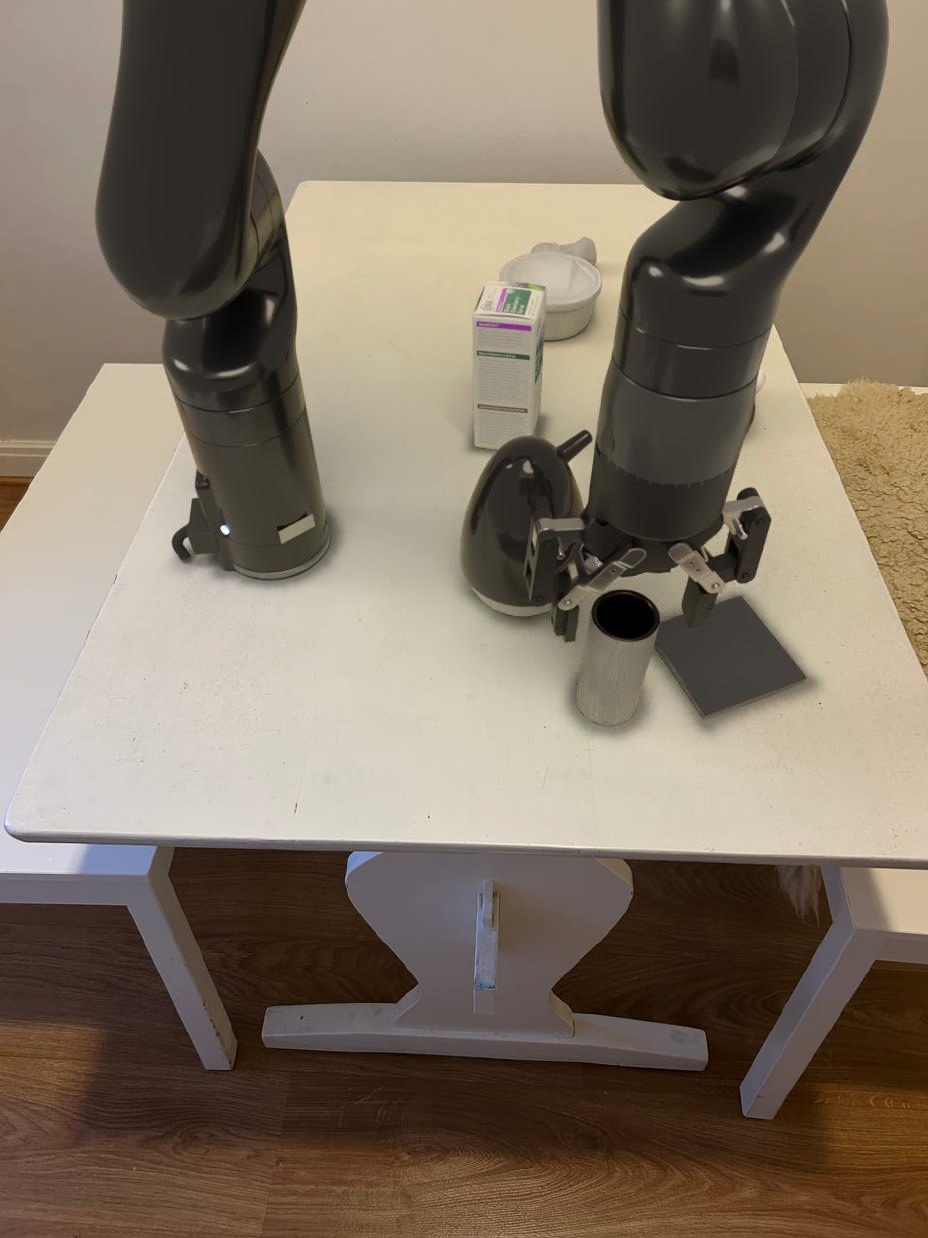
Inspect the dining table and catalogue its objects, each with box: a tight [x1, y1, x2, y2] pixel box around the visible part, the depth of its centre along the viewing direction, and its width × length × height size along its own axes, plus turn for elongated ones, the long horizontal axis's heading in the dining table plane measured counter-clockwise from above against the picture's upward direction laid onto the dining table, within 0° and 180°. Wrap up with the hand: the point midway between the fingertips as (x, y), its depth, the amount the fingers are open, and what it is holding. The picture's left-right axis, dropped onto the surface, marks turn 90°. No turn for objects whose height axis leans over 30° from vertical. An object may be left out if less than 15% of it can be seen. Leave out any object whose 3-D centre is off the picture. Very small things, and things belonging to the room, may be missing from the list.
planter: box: [576, 588, 661, 727], centre depth 59 cm, size 4×4×10 cm
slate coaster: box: [653, 594, 808, 720], centre depth 65 cm, size 9×9×1 cm
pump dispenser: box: [458, 429, 593, 617], centre depth 64 cm, size 10×10×15 cm
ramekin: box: [498, 252, 603, 341], centre depth 94 cm, size 11×11×5 cm
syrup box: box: [471, 280, 547, 451], centre depth 77 cm, size 6×6×14 cm
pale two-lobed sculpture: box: [529, 236, 598, 267], centre depth 101 cm, size 4×8×5 cm
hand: (628, 625), depth 56 cm, fingers open, 8 cm apart
